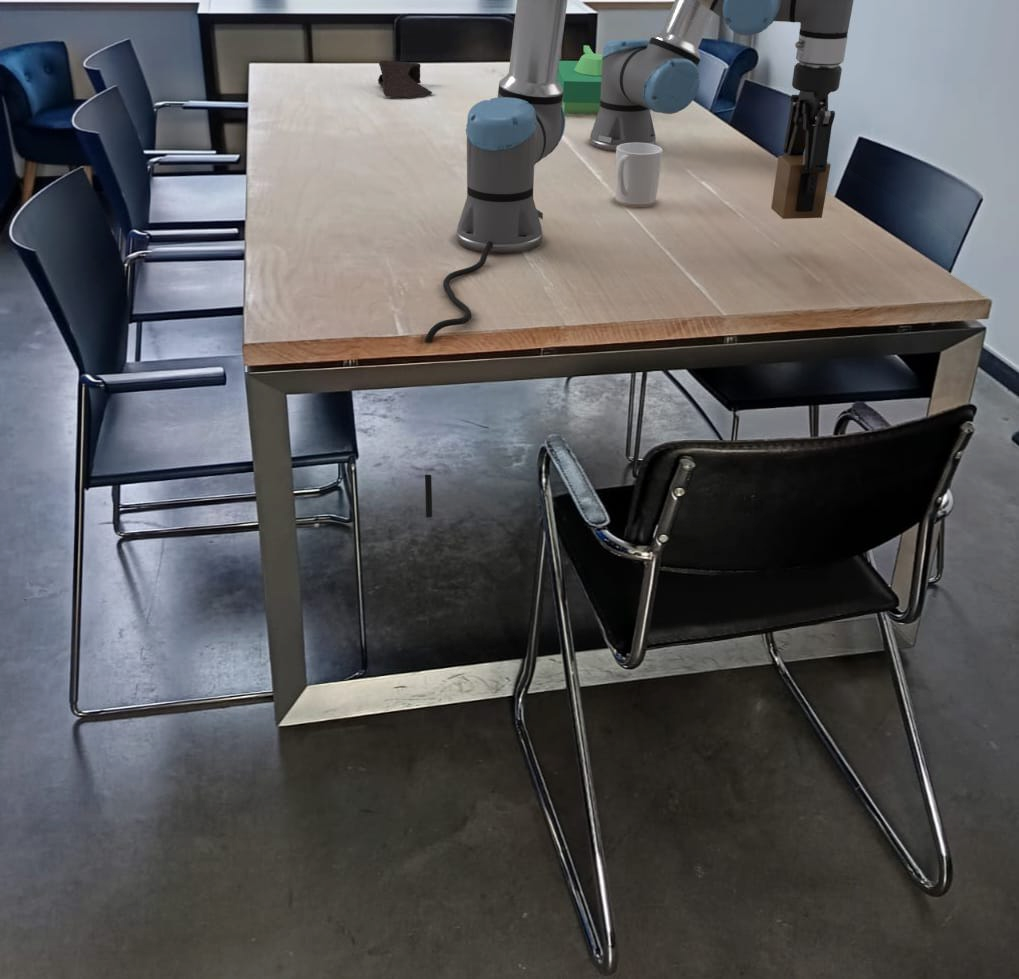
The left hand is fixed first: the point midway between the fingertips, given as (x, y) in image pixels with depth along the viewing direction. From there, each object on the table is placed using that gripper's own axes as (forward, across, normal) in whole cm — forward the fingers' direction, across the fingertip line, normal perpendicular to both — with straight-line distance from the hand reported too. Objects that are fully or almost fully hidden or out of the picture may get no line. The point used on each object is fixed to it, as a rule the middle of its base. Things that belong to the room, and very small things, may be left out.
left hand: (796, 204), depth 189 cm
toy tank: (+8, -120, -12) cm, 121 cm away
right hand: (-26, -54, -38) cm, 70 cm away
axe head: (+8, -136, -61) cm, 149 cm away
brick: (+1, 0, 0) cm, 1 cm away
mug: (+8, -31, -21) cm, 38 cm away
